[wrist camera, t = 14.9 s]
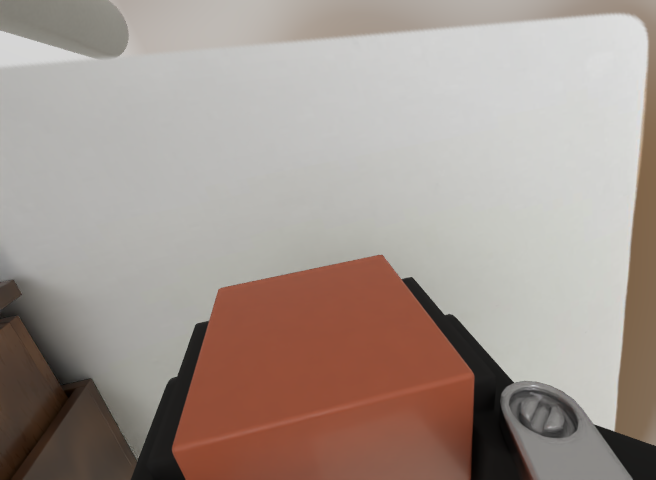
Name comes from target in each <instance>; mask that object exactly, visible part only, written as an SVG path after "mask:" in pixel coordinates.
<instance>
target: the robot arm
mask: <svg viewBox="0 0 656 480" xmlns="http://www.w3.org/2000/svg"><path fill="white" fill-rule="evenodd" d="M401 280H402V281H403V282H404V283H405V285H406V286H407V287H408V289H409V290H410V291H411V293H412V294H413V295H414V296H415V298H416V299H417V300H418V302H419V303H420V304H421V306H422V307H423V308H424V309H425V311H426V312H427V313H428V315H429V316H430V317H431V319H432V320H433V321H434V322H435V324H436V325H437V326H438V328H439V329H440V330H441V332H442V333H443V334H444V335H445V337H446V338H447V339H448V341H449V342H450V343H451V344H452V346H453V347H454V348H455V350H456V351H457V352H458V354H459V355H460V356H461V357H462V359H463V360H464V361H465V363H466V364H467V365H468V367H469V368H470V369H471V370H472V372H473V374H474V406H473V434H472V463H471V480H656V446H654V445H651V444H648V443H645V442H642V441H640V440H637V439H633V438H631V437H628V436H625V435H623V434H620V433H617V432H614V431H611V430H608V429H605V428H603V427H600V426H597V425H594V424H593V423H592V421H591V420H590V419H589V417H588V416H587V414H586V413H585V412H584V410H583V409H582V408H581V407H580V406H579V405H578V404H577V402H576V401H575V400H574V399H572V398H571V397H570V396H568V395H567V394H565V393H564V392H563V391H561V390H558V389H556V388H554V387H552V386H550V385H547V384H543V383H539V382H532V381H522V382H516V383H514V382H513V381H512V380H511V379H510V378H509V377H508V376H507V374H506V373H505V372H504V371H503V370H502V369H501V368H500V367H499V365H498V364H497V363H496V362H495V361H494V360H493V359H492V358H491V356H490V355H489V354H488V353H487V352H486V351H485V350H484V349H483V347H482V346H481V345H480V344H479V343H478V342H477V341H476V340H475V338H474V337H473V336H472V335H471V334H470V333H469V332H468V331H467V330H466V328H465V327H464V326H463V325H462V324H461V323H460V322H459V321H458V319H457V318H456V317H454V316H453V315H451V314H448V315H444V314H443V313H442V312H441V310H440V309H439V308H438V307H437V306H436V304H435V303H434V302H433V301H432V300H431V299H430V297H429V296H428V295H427V294H426V293H425V291H424V290H423V289H422V288H421V287H420V286H419V284H418V283H417V282H416V281H415V280H414V279H413V278H412V277H409V278H405V279H401ZM208 323H209V321H207V322H202V323H198V324H196V325H195V328H194V331H193V333H192V336H191V339H190V342H189V345H188V348H187V351H186V353H185V356H184V359H183V362H182V365H181V368H180V370H179V373H178V376H177V377H175V378H172V379H170V380H169V382H168V384H167V385H166V388H165V391H164V393H163V396H162V398H161V401H160V404H159V406H158V409H157V412H156V414H155V417H154V419H153V422H152V425H151V427H150V430H149V433H148V435H147V438H146V441H145V443H144V446H143V448H142V451H141V454H140V456H139V459H138V462H137V464H136V467H135V469H134V472H133V475H132V477H131V480H186V479H185V477H184V475H183V473H182V471H181V469H180V467H179V465H178V463H177V461H176V459H175V457H174V455H173V452H172V446H173V442H174V439H175V436H176V432H177V429H178V425H179V422H180V419H181V415H182V412H183V408H184V405H185V402H186V398H187V395H188V391H189V388H190V385H191V381H192V378H193V374H194V371H195V368H196V364H197V361H198V357H199V354H200V351H201V347H202V344H203V340H204V337H205V333H206V330H207V327H208Z"/></svg>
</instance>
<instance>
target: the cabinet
mask: <svg viewBox="0 0 656 480" xmlns="http://www.w3.org/2000/svg"><path fill="white" fill-rule="evenodd" d="M61 387H62V389H63V390H64V392H65V394H66V395H67V397H68V400H67V402H66V403H65V404H64V406H63V407H62V409H61V410H60V411H59V413H58V414H57V416H56V417H55V418H54V420H53V421H52V423H51V424H50V426H49V427H48V428H47V430H46V431H45V433H44V434H43V435H42V437H41V438H40V440H39V441H38V442H37V444H36V445H35V447H34V448H33V449H32V451H31V452H30V454H29V455H28V457H27V458H26V459H25V461H24V462H23V464H22V465H21V466H20V468H19V469H18V471H17V472H16V473H15V475H14V476H13V478H12V479H11V480H131V477H132V475H133V472H134V469H135V467H136V464H137V461H136V459H135V457H134V455H133V453H132V452H131V450H130V448H129V446H128V444H127V443H126V441H125V439H124V437H123V435H122V434H121V432H120V430H119V428H118V426H117V424H116V423H115V421H114V419H113V417H112V415H111V414H110V412H109V410H108V408H107V406H106V405H105V403H104V401H103V399H102V397H101V395H100V394H99V392H98V390H97V388H96V386H95V385H94V383H93V381H92V379H87V380H82V381H78V382H73V383H69V384H64V385H61Z"/></svg>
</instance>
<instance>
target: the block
mask: <svg viewBox="0 0 656 480" xmlns="http://www.w3.org/2000/svg"><path fill="white" fill-rule="evenodd" d="M473 406H474V374H473V372H472V370H471V369H470V368H469V367H468V365H467V364H466V363H465V361H464V360H463V359H462V357H461V356H460V355H459V354H458V352H457V351H456V350H455V348H454V347H453V346H452V344H451V343H450V342H449V341H448V339H447V338H446V337H445V335H444V334H443V333H442V332H441V330H440V329H439V328H438V326H437V325H436V324H435V322H434V321H433V320H432V319H431V317H430V316H429V315H428V313H427V312H426V311H425V309H424V308H423V307H422V306H421V304H420V303H419V302H418V300H417V299H416V298H415V296H414V295H413V294H412V293H411V291H410V290H409V289H408V287H407V286H406V285H405V283H404V282H403V281H402V280H401V278H400V277H399V276H398V274H397V273H396V272H395V271H394V269H393V268H392V267H391V265H390V264H389V263H388V261H387V260H386V259H385V258H384V256H383V255H377V256H372V257H367V258H362V259H357V260H353V261H348V262H343V263H338V264H333V265H329V266H324V267H319V268H314V269H309V270H305V271H300V272H295V273H290V274H285V275H281V276H276V277H271V278H266V279H261V280H257V281H252V282H247V283H242V284H237V285H233V286H228V287H223V288H220V289H219V290H218V293H217V296H216V299H215V303H214V306H213V310H212V313H211V316H210V320H209V323H208V327H207V330H206V333H205V337H204V340H203V344H202V347H201V351H200V354H199V357H198V361H197V364H196V368H195V371H194V374H193V378H192V381H191V385H190V388H189V391H188V395H187V398H186V402H185V405H184V408H183V412H182V415H181V419H180V422H179V425H178V429H177V432H176V436H175V439H174V442H173V446H172V452H173V455H174V457H175V459H176V461H177V463H178V465H179V467H180V469H181V471H182V473H183V475H184V477H185V479H186V480H471V463H472V434H473Z"/></svg>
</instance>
